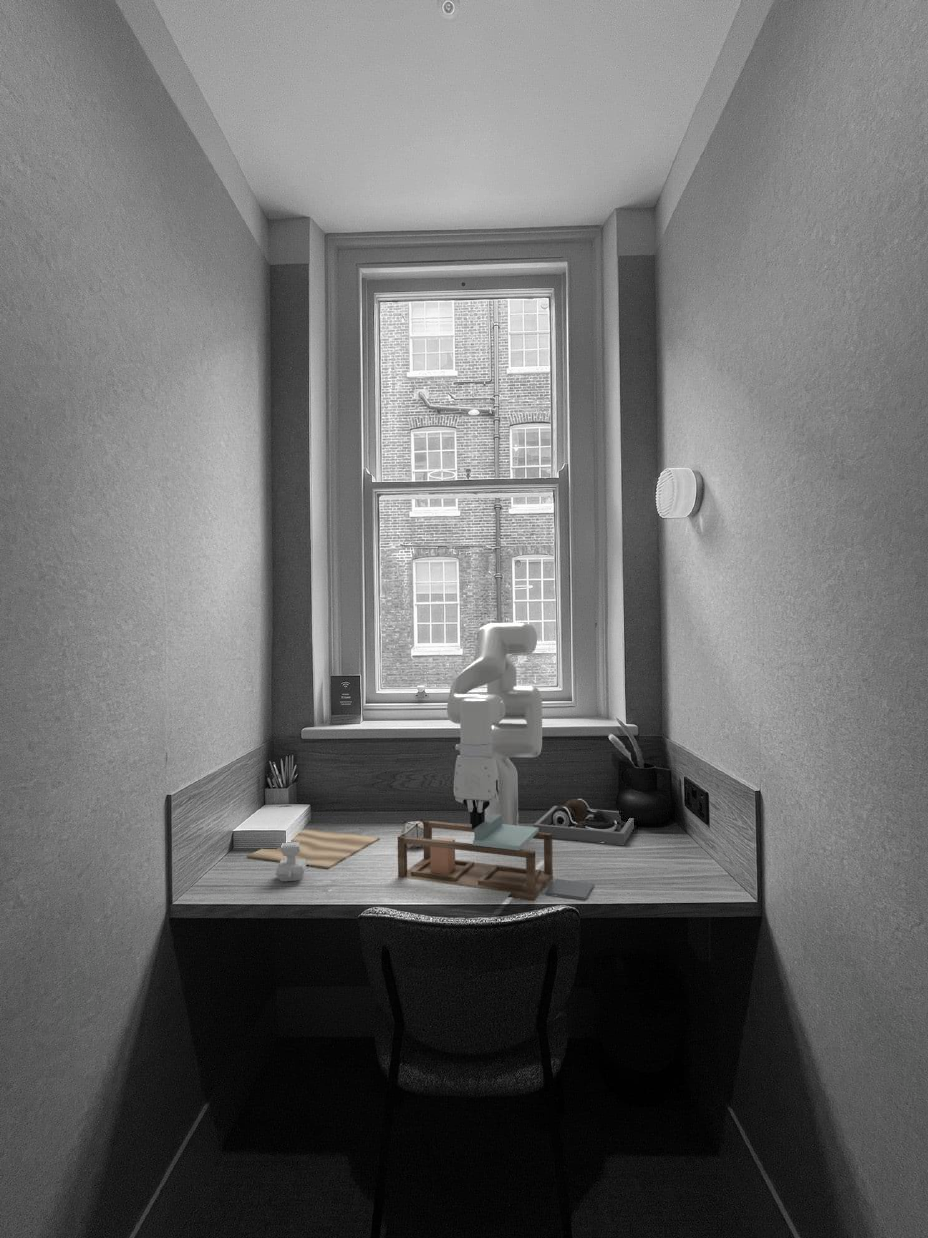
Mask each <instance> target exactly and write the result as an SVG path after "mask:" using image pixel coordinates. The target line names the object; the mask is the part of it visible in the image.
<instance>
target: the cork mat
mask: <svg viewBox="0 0 928 1238" xmlns="http://www.w3.org/2000/svg"><path fill="white" fill-rule="evenodd" d="M299 831H300V832H299ZM299 831H298V832H299V833H298V835H296V836H295V837H294V838H293V839H292V840H291V842H300V852H299V853H298V855H296V859H306V861H307V865H309V866H308V867H311V866H313V867H312V868H318V867H320V868H319V869H325V868H329V869H331V868H332V867H334V866H336V865H338V864H340V863H341V862H343V861H345V860H347V859H348V858H350V857H352V856H353V855H355V854H357V853H358V851H359V850H360V851H362V850H364V849H365V847H366V848H367V847H369V846H371V845H372V844H374V843H376V842H377V841H380V840H381V839H380V837H377V836H369V835H360V834H352V833H351V834H350V833H343V832H336V831H326V830H317V829H309V828H304V829H302V830H299ZM368 845H369V846H368ZM361 849H362V850H361ZM360 851H359V852H360ZM356 852H357V853H356ZM354 853H355V854H354ZM351 855H352V856H351ZM349 856H350V857H349ZM347 857H348V858H347ZM246 858H247V859H255V860H261V861H268V860H269V862H274V863H275V862H277V863H280V861H281V860H286V859H287V856H283V853H281V848H277V849H263V848H260V849H259V850H257V851H254V852H252V853H251V854H250V853H249V854H247V855H246ZM346 858H347V859H346ZM339 862H340V863H339ZM337 863H338V864H337Z"/></svg>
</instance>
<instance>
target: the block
mask: <svg viewBox="0 0 928 1238" xmlns="http://www.w3.org/2000/svg"><path fill="white" fill-rule="evenodd" d="M434 839H435V840H444V841H452V842H456V839H454V838H446V837H437V838H434ZM455 860H456V849H447V848H439V847H431V846H430V863H431V872H435V873H442V874H449V873H450V872H451V871H452V870H454V869H455Z"/></svg>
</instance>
